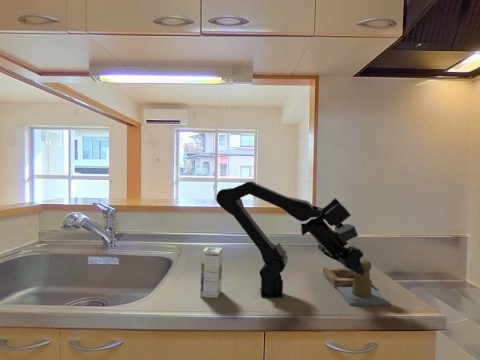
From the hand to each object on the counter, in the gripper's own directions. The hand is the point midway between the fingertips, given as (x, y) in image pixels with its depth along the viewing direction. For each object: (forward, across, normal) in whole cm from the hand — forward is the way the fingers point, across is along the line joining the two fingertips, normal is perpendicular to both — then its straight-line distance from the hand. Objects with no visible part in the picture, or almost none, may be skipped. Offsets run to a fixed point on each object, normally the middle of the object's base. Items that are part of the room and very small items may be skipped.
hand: (355, 268), depth 96 cm
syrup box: (-25, +9, +38) cm, 46 cm away
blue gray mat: (+8, 0, +4) cm, 10 cm away
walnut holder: (+10, +14, +3) cm, 17 cm away
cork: (+8, 0, +4) cm, 9 cm away
